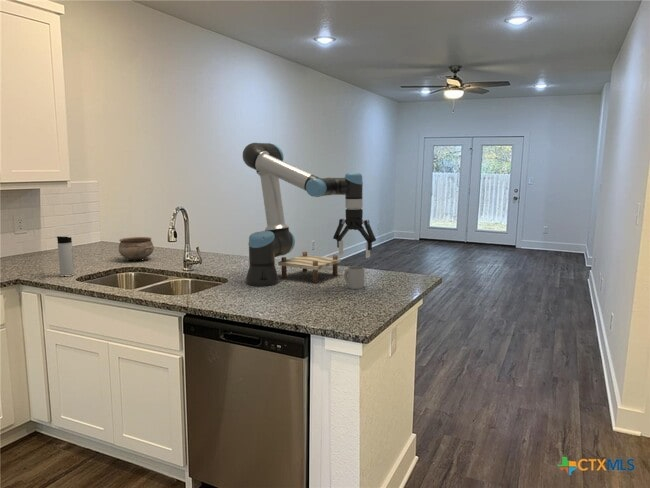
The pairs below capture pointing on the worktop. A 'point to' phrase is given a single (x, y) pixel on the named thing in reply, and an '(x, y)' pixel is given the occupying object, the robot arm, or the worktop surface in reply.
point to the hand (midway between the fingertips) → (354, 256)
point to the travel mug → (65, 255)
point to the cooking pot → (136, 247)
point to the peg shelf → (309, 264)
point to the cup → (354, 277)
